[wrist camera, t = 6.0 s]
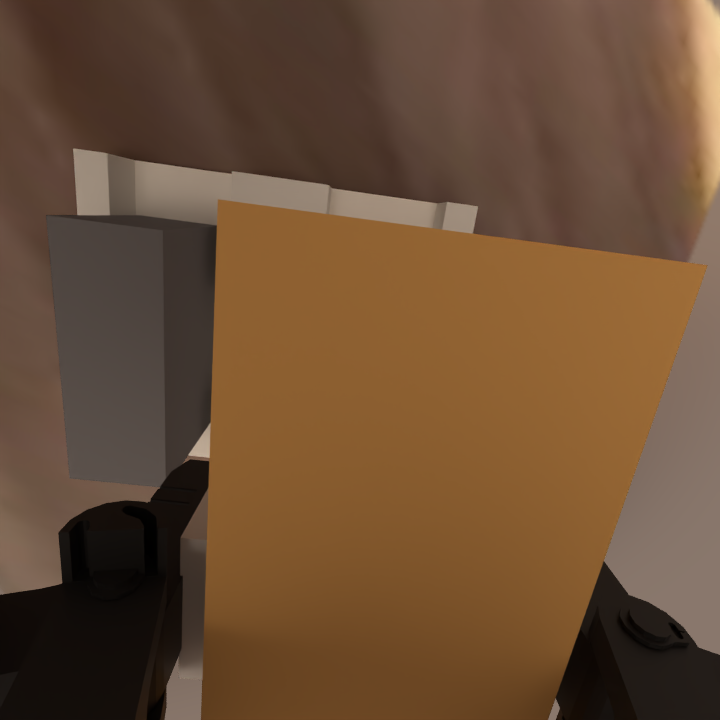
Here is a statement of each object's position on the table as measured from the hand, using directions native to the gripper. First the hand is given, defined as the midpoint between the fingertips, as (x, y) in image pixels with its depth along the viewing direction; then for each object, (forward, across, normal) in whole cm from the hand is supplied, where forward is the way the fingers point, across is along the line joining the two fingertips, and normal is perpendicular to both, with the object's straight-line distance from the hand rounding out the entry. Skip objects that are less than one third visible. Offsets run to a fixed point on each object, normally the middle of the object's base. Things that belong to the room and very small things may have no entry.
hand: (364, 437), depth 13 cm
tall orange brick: (0, 0, 0) cm, 0 cm away
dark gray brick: (+15, -11, -1) cm, 18 cm away
